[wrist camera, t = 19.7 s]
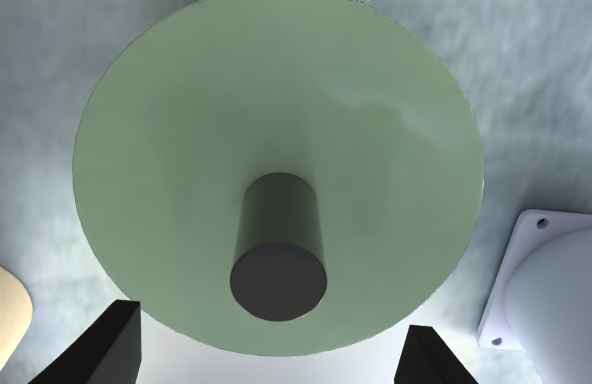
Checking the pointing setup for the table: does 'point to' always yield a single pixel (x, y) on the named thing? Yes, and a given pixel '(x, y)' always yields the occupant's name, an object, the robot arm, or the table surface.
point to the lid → (278, 173)
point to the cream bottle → (12, 314)
